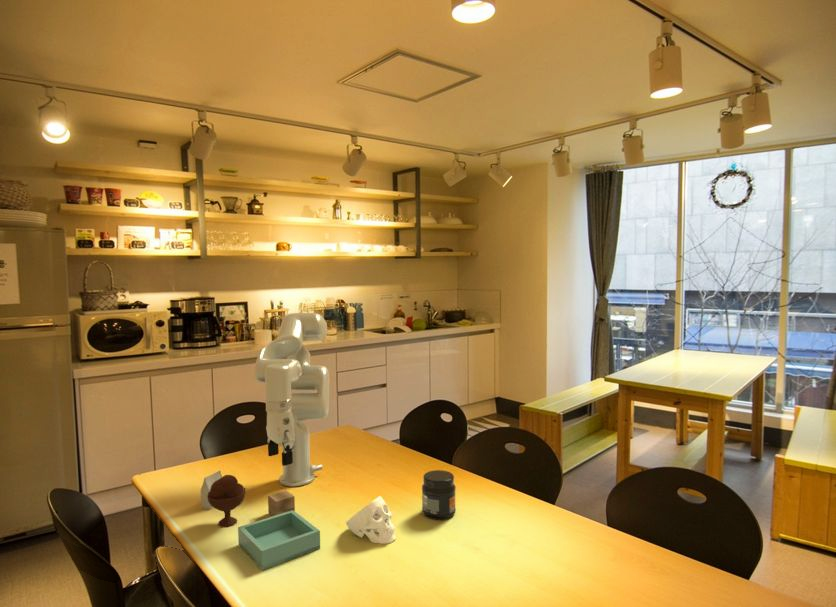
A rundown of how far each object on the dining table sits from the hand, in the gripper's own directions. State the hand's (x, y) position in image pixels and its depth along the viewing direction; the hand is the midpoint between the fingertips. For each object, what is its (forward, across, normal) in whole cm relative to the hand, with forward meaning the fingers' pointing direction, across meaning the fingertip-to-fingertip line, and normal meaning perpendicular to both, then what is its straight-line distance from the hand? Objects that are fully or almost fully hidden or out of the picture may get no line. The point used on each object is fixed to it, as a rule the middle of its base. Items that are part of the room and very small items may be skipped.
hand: (280, 459), depth 161 cm
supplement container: (+18, -30, -38) cm, 52 cm away
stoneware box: (+18, -16, +8) cm, 25 cm away
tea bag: (+19, +23, +13) cm, 32 cm away
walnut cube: (+18, +2, -1) cm, 19 cm away
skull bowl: (+18, -27, -15) cm, 36 cm away
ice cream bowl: (+18, +7, +14) cm, 24 cm away
